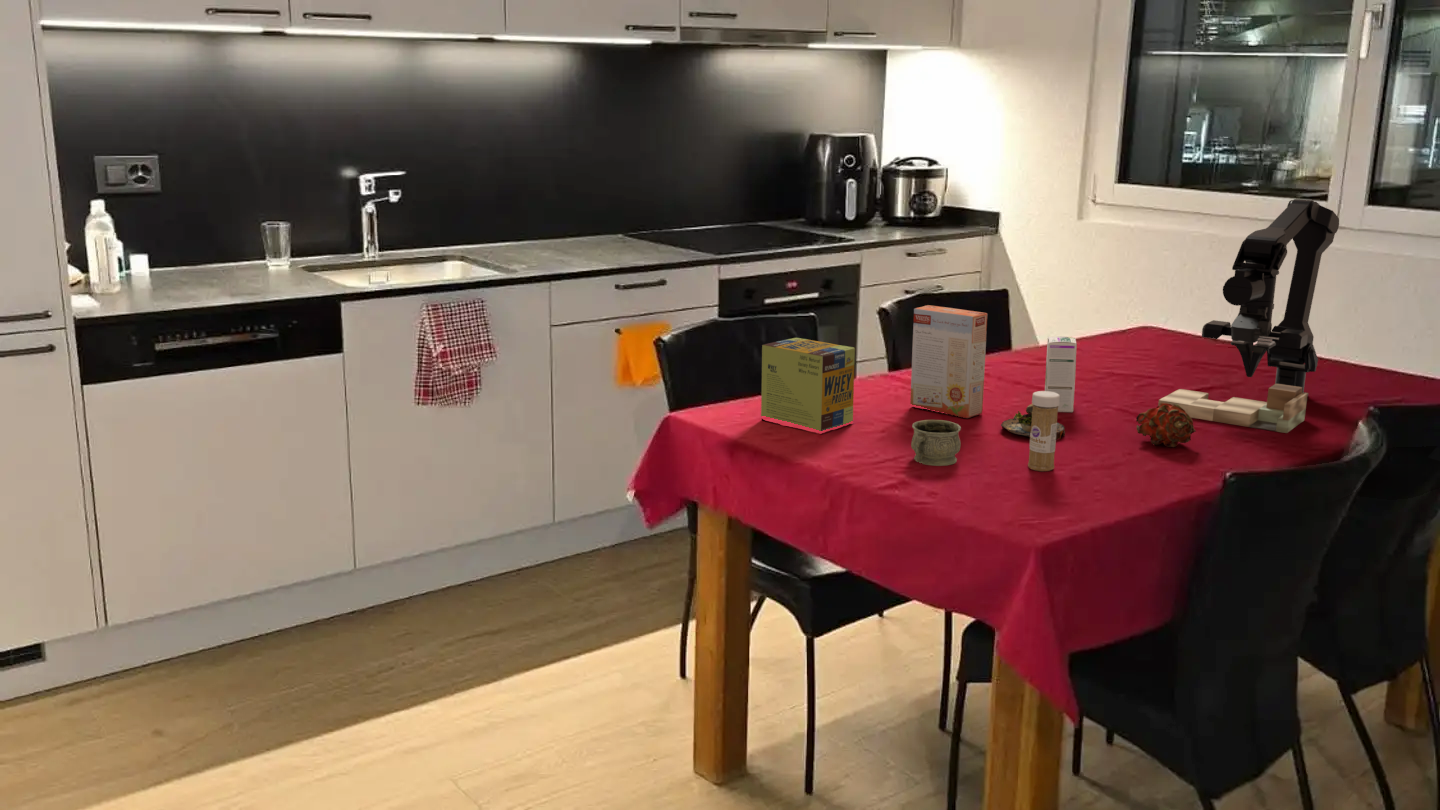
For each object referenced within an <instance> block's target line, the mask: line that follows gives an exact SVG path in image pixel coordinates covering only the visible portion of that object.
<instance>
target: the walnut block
mask: <svg viewBox="0 0 1440 810" xmlns="http://www.w3.org/2000/svg"><path fill="white" fill-rule="evenodd" d="M1301 393H1302V387H1297V386H1290V385H1283V384H1275V383H1274V384H1273V385H1271V386H1270V387H1268V390H1267V398H1266V402H1267V406H1266V408H1271V409H1277V410H1284V405H1285V404H1286V403H1287V402H1289V401H1290V400H1292V399H1293V398H1295V397H1296V396H1298V395H1299V394H1301Z"/></svg>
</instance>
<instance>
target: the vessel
mask: <svg viewBox="0 0 1440 810" xmlns="http://www.w3.org/2000/svg"><path fill="white" fill-rule="evenodd" d="M912 429H913V435H912V437H911V438H912V439H911V442H910V443H911V444H910V445H911V449H912V450H913V451H914V453H915V455H914V458H913V460H914V461H915V462H917V463H918V462H919V464H921V463H922V464H921V465H926V466H932V467H933V466H935V467H944V466H945V467H946V466H951V465H954V464H956V463H957V460H958V458H957V457H956V455H957V454H958V453H959V452H960V451H961V439H960V435H959V432H960V431H961V430H962V427H961V425H959V423H955V422H952V421H949V420H943V419H924V420H917V421H915V422H913V423H912Z"/></svg>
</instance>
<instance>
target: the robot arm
mask: <svg viewBox="0 0 1440 810" xmlns="http://www.w3.org/2000/svg"><path fill="white" fill-rule="evenodd" d="M1339 227H1340V218H1339V217H1338V215H1337V214H1336V213H1335V212H1334V210H1331V209H1330V208H1328V207H1325V206H1323V205H1320V204H1319V203H1318V202H1317V201H1315V200H1313V199H1299V198H1298V199H1297V198H1293V199H1291V200H1289V201H1288V203H1287V206H1286V208H1285V209H1284V210H1282V212H1281V213H1280V214H1279V215H1278V216H1277V217H1276V218H1275V219H1274V220H1273V221H1272V222H1271V224H1269V225H1268V226H1267V227H1266V228H1263V229H1257V230H1255V231H1253V232H1252V233H1250V234H1249V235H1247V236H1246V238H1245V239H1244V240H1243V241H1242V243H1241V245H1240V247H1239V250H1238V252H1237V255H1236V256H1235V257H1236V258H1235V260H1234V263H1233V265H1232V269H1231V270H1233V271H1234V275H1233V276H1231V277H1229V278H1228V279H1227V280H1226V281H1225V282H1224V285H1223V287H1222V295H1223V297H1224V299H1225V300H1226V302H1227V303H1229V304H1230V305H1233V306H1239V312H1238V314H1237V316H1236V317H1235V319H1234V320H1233V321H1232V323H1231V321H1224V320H1211V321H1209V322H1207V323H1205V324H1204V325H1203V326H1202V330H1201V338H1205V339H1213V340H1218V339H1219V338H1220V337H1222V336H1227V337H1231V340H1232V341H1231V342H1230V345H1231V346H1234V347H1236V348H1237V350H1238V352H1239V353H1240V356H1241V360H1242V364H1243V367H1244V371H1245V375H1246V377H1247V378H1252V377H1253V376H1254V375H1255V372H1256V371H1257V369H1258V366H1259V364H1260V362H1261V361H1262V358H1263V357H1264V355H1265V354H1266V358H1267V359H1266V360H1267V367H1271V368H1272V367H1273V368H1276V373H1275V380H1274V381H1275V383H1274V384H1283V385H1290V386H1297V387H1302V393H1306V391H1305V384H1306V383H1305V382H1306V377H1307V376H1306V374H1307V373H1315V372H1316V371H1317V367H1318V364H1319V363H1318V362H1319V358H1318V355H1317V352H1316V349H1315V346H1314V344H1313V343H1314V338H1315V337H1314V334H1313V332H1312V330H1311V327H1310V325H1309V320H1310V314H1311V309H1312V305H1313V299H1314V294H1315V289H1316V285H1317V279H1318V274H1319V269H1320V265H1321V259H1322V255H1323V253H1324V252H1325V251H1326V250H1327V249H1328V248H1329V247H1330V246H1331V244H1333V242H1334V238H1335V234H1337V232H1338V230H1339ZM1291 241H1293V244H1294V246H1295V248H1296V255H1295V261H1294V266H1293V272H1292V276H1291V281H1290V287H1289V290H1288V294H1287V295H1288V296H1287V301H1286V306H1285V312H1284V315H1283V319H1282V320H1281V321H1280V323H1279V324H1278V325H1274V326H1273V323H1272V318H1273V310H1274V308H1275V303H1274V302H1275V301H1274V300H1275V293H1276V292H1275V291H1276V285H1277V284H1276V283H1277V276H1279V275H1280V271H1279V270H1280V268H1281V266H1283V263H1284V260H1285V259H1286V257H1287V255H1288V247H1287V245H1288V244H1289V243H1290V242H1291ZM1272 327H1273V328H1272ZM1304 391H1305V392H1304ZM1307 397H1309V393H1308V394H1307Z"/></svg>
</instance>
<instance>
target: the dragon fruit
mask: <svg viewBox="0 0 1440 810" xmlns="http://www.w3.org/2000/svg"><path fill="white" fill-rule="evenodd" d="M1135 419H1136V420H1135V422H1136V423H1137V425H1136V432H1137V433H1138V434H1141V435H1142V436H1144V437H1146V436H1149V438H1150V439H1149V440H1150V443H1151V444H1152V445H1153V446H1158V445H1160V444H1163V445H1164V446H1166V447H1168V448H1169V447H1170V448H1176V447H1177V446H1178V444H1179V443H1180V444H1186V443H1188V442H1190V441H1192V440H1191V437H1192V436H1191V435H1192V434H1194V433H1196V432H1197V431H1196V429H1195V428H1194V421H1193V418H1191V417H1190V416H1189V415H1188V414H1187V413H1186V412H1185V410H1184V409H1183V408H1181V407H1180V406H1179V405H1177V404H1169V403H1163V402H1161V403H1160V406H1158V405H1157V406H1156V407H1153V408H1148V409H1147V410H1146V411H1144V412H1140V413H1138V415H1137V416H1136V417H1135ZM1138 424H1140V425H1138Z"/></svg>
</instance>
